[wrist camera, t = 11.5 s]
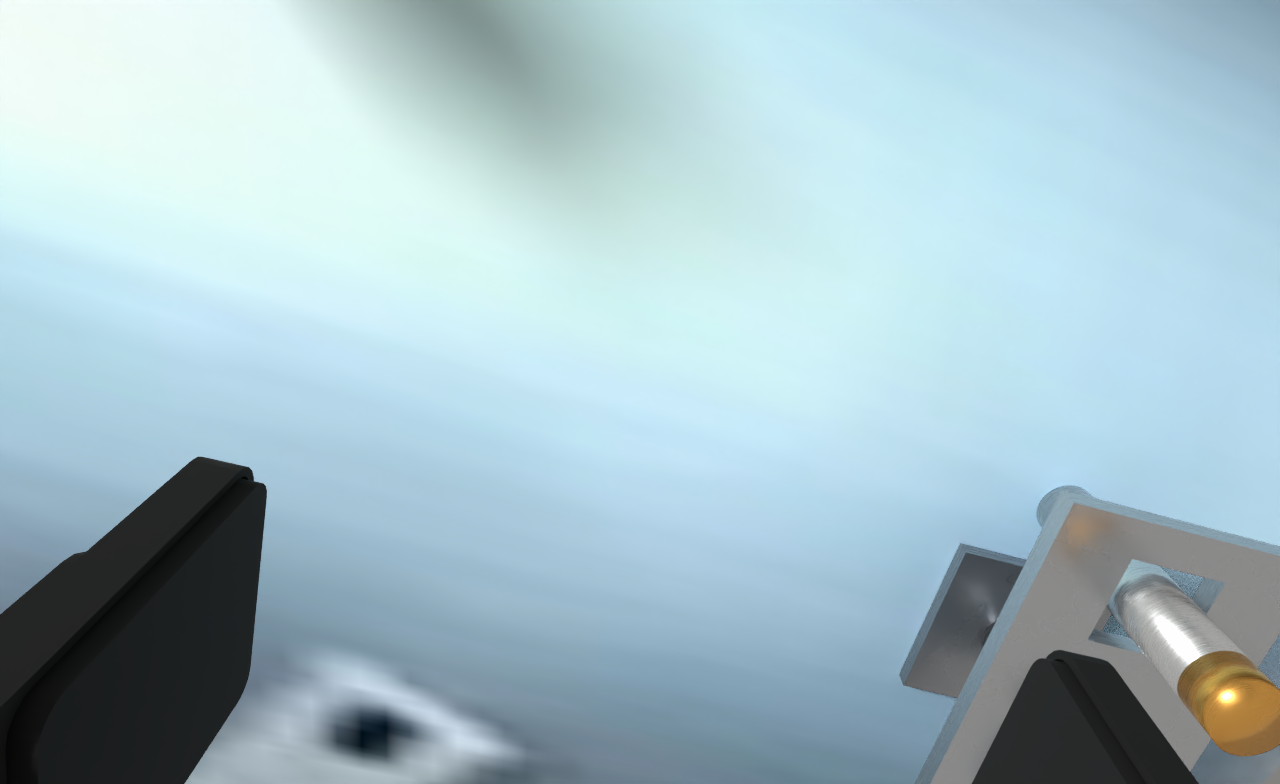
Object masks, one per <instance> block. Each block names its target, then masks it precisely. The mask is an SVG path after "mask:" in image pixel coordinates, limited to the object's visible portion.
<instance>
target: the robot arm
mask: <svg viewBox="0 0 1280 784" xmlns="http://www.w3.org/2000/svg"><path fill="white" fill-rule="evenodd" d="M266 498H267V490H266V486H265V485H264V484H263V483H259V482H254V477H253V473H252V470H251V469H250V468H249V467H245V466H241V465H236V464H232V463H227V462H223V461H218V460H214V459H210V458H205V457H197V458H195V459H193V460H192V461H191V462H189V463H188V464H187V465H186V466H185V467H184V468H182V469H181V470H180V471H179V472H178V473H177V474H176V475H174V476H173V477H172V478H171V479H170V480H169V481H167V482H166V483H165V484H164V485H163V486H162V487H160V488H159V489H158V490H157V491H156V492H155V493H154V494H152V495H151V496H150V497H149V498H148V499H147V500H145V501H144V502H143V503H142V504H141V505H140V506H139V507H137V508H136V509H135V510H134V511H133V512H132V513H130V514H129V515H128V516H127V517H126V518H125V519H124V520H122V521H121V522H120V523H119V524H118V525H117V526H115V527H114V528H113V529H112V530H111V531H110V532H108V533H107V534H106V535H105V536H104V537H103V538H102V539H100V540H99V541H98V542H97V543H96V544H95V545H93V546H92V547H91V548H90V549H89V550H88V551H87V552H82V553H76V554H74V555H72V556H71V557H69V558H68V559H66V560H64V561H63V562H62V563H61V564H59V565H58V566H57V567H56V568H55V569H53V570H52V571H51V572H50V573H49V574H48V575H46V576H45V577H44V578H43V579H42V580H40V581H39V582H38V583H37V584H36V585H35V586H33V587H32V588H31V589H30V590H29V591H28V592H26V593H25V594H24V595H23V596H22V597H20V598H19V599H18V600H17V601H16V602H15V603H13V604H12V605H11V606H10V607H9V608H7V609H6V610H5V611H4V612H3V613H2V614H0V784H184V783H185V782H186V780H187V779H188V777H189V776H190V774H191V773H192V771H193V770H194V768H195V767H196V765H197V764H198V762H199V761H200V759H201V758H202V756H203V754H204V753H205V751H206V750H207V748H208V747H209V745H210V744H211V742H212V741H213V739H214V738H215V736H216V735H217V733H218V732H219V730H220V729H221V727H222V726H223V724H224V722H225V721H226V719H227V718H228V716H229V715H230V713H231V712H232V710H233V709H234V707H235V706H236V704H237V703H238V701H239V699H240V697H241V695H242V693H243V691H244V689H245V686H246V683H247V680H248V676H249V672H250V666H251V655H252V645H253V634H254V624H255V613H256V603H257V592H258V582H259V571H260V561H261V550H262V540H263V529H264V519H265V508H266ZM972 784H1199V783H1198V782H1197V781H1196V779H1195V778H1194V776H1193V775H1192V774H1191V772H1190V771H1189V770H1188V768H1187V767H1186V765H1185V764H1184V763H1183V761H1182V760H1181V759H1180V757H1179V756H1178V754H1177V753H1176V752H1175V750H1174V749H1173V748H1172V746H1171V745H1170V743H1169V742H1168V741H1167V739H1166V738H1165V737H1164V735H1163V734H1162V732H1161V731H1160V730H1159V728H1158V727H1157V726H1156V724H1155V723H1154V722H1153V720H1152V719H1151V717H1150V716H1149V715H1148V713H1147V712H1146V711H1145V709H1144V708H1143V706H1142V705H1141V704H1140V702H1139V701H1138V700H1137V698H1136V697H1135V695H1134V694H1133V693H1132V691H1131V690H1130V689H1129V687H1128V686H1127V684H1126V683H1125V682H1124V680H1123V679H1122V678H1121V676H1120V675H1119V673H1118V672H1117V671H1116V669H1115V668H1114V667H1113V666H1112V665H1111V664H1110V663H1109V662H1108V661H1106V660H1103V659H1099V658H1095V657H1091V656H1086V655H1082V654H1077V653H1073V652H1068V651H1064V650H1056V651H1053V652H1052V653H1050V654H1049V655H1048V656H1047V657H1046V659H1045V658H1041V659H1038V660H1036V661H1035V662H1034V663H1033V664H1032V666H1031V667H1030V669H1029V671H1028V673H1027V675H1026V677H1025V679H1024V681H1023V683H1022V685H1021V687H1020V689H1019V691H1018V693H1017V695H1016V697H1015V699H1014V701H1013V703H1012V705H1011V707H1010V709H1009V711H1008V713H1007V715H1006V717H1005V719H1004V721H1003V723H1002V725H1001V727H1000V729H999V731H998V733H997V735H996V737H995V739H994V741H993V742H992V744H991V746H990V748H989V750H988V752H987V754H986V756H985V758H984V760H983V762H982V764H981V766H980V768H979V770H978V772H977V774H976V776H975V778H974V780H973V782H972Z"/></svg>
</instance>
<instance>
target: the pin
mask: <svg viewBox="0 0 1280 784" xmlns="http://www.w3.org/2000/svg"><path fill="white" fill-rule="evenodd" d="M1062 490H1064V491H1068V492H1072V493H1076V494H1080V495H1084V496H1087V497H1091V498H1093V497H1092V496H1091V495H1090V494H1089V493H1088V492H1087V491H1086V490H1084V489H1082V488H1080V487H1077V486H1062V487H1058V488H1056V489H1054V490H1052V491H1050V492H1049V493H1047V494H1046V495H1045V496H1044V497H1043V498H1042V500H1041V501H1040V503H1039V505H1038V508H1037V520H1038V522H1039V524H1040V526H1041V527H1042V528H1043V527H1044V525H1045V523H1046V521H1047V519H1048V517H1049V515H1050V513H1051V511H1052V509H1053V507H1054V505H1055V503H1056V501H1057V499H1058V497H1059V495H1060V493H1061V491H1062ZM1106 608H1107V609H1108V610H1109V611H1110V613H1111V614H1112V615H1113V616H1114V618H1115V619H1116V620H1117V621H1118V623H1119V624H1120V625H1121V626H1122V628H1123V629H1124V630H1125V631H1126V633H1127V634H1128V635H1129V636H1130V638H1131V639H1132V640H1133V641H1134V643H1135V644H1136V645H1137V646H1138V648H1139V649H1140V650H1141V651H1142V653H1143V654H1144V655H1145V656H1146V658H1147V659H1148V660H1149V661H1150V663H1151V664H1152V665H1153V666H1154V668H1155V669H1156V670H1157V671H1158V673H1159V674H1160V675H1161V676H1162V678H1163V679H1164V680H1165V681H1166V683H1167V684H1168V685H1169V686H1170V687H1171V689H1172V690H1173V691H1174V692H1175V694H1176V695H1177V696H1178V697H1179V699H1180V700H1181V701H1182V702H1183V704H1184V705H1185V706H1186V707H1187V709H1188V710H1189V711H1190V712H1191V714H1192V715H1193V716H1194V717H1195V719H1196V720H1197V721H1198V722H1199V724H1200V725H1201V726H1202V727H1203V729H1204V730H1205V731H1206V732H1207V734H1208V735H1209V736H1210V737H1211V739H1212V740H1213V741H1214V742H1215V744H1216V745H1217V746H1218V747H1219V748H1220V749H1222V750H1223V751H1225V752H1227V753H1229V754H1233V755H1237V756H1252V755H1257V754H1261V753H1264V752H1267V751H1269V750H1271V749H1273V748H1275V747H1277V746H1278V745H1280V690H1279V689H1278V688H1277V687H1276V686H1275V685H1274V684H1273V683H1272V682H1271V681H1270V680H1269V679H1268V677H1267V676H1266V675H1265V674H1264V673H1263V672H1262V671H1261V670H1260V669H1259V668H1258V667H1257V666H1256V665H1255V664H1254V663H1253V662H1252V661H1251V660H1250V659H1249V658H1248V657H1247V656H1246V655H1245V654H1244V653H1243V652H1242V651H1241V650H1240V649H1239V648H1238V647H1237V646H1236V645H1235V644H1234V642H1233V641H1232V640H1231V639H1230V638H1229V637H1228V636H1227V635H1226V634H1225V633H1224V632H1223V631H1222V630H1221V629H1220V628H1219V627H1218V626H1217V625H1216V624H1215V623H1214V622H1213V621H1212V620H1211V619H1210V618H1209V617H1208V616H1207V615H1206V614H1205V613H1204V612H1203V611H1202V610H1201V608H1200V607H1199V606H1198V605H1197V604H1196V603H1195V602H1194V601H1193V600H1192V599H1191V598H1190V597H1189V596H1188V595H1187V594H1186V593H1185V592H1184V591H1183V590H1182V589H1181V588H1180V587H1179V586H1178V585H1177V584H1176V583H1175V582H1174V581H1173V580H1172V579H1171V578H1170V577H1169V576H1168V575H1167V573H1166V572H1165V571H1164V570H1163V569H1162V568H1161V567H1160V566H1157V565H1153V564H1149V563H1145V562H1142V561H1138V560H1134V559H1132V560H1131V562H1130V564H1129V566H1128V568H1127V569H1126V571H1125V573H1124V575H1123V577H1122V578H1121V580H1120V582H1119V584H1118V586H1117V587H1116V589H1115V591H1114V593H1113V595H1112V597H1111V598H1110V600H1109V602H1108V604H1107V606H1106Z"/></svg>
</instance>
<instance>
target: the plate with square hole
mask: <svg viewBox="0 0 1280 784" xmlns="http://www.w3.org/2000/svg"><path fill="white" fill-rule="evenodd" d="M1132 559H1134V560H1138V561H1142V562H1145V563H1149V564H1153V565H1157V566H1161V567H1165V568H1169V569H1173V570H1177V571H1181V572H1185V573H1189V574H1193V575H1196V576H1200V577H1204V579H1203V581H1202V582H1201V584H1200V586H1199V587H1198V589H1197V591H1196V593H1195V594H1194V596H1193V598H1192V600H1193V601H1194V602H1195V603H1196V604H1197V605H1198V606H1199V607H1200V608H1201V610H1202V611H1203V612H1204V613H1205V614H1206V615H1207V616H1208V617H1209V618H1210V619H1211V620H1212V621H1213V622H1214V623H1215V624H1216V625H1217V626H1218V627H1219V628H1220V629H1221V630H1222V631H1223V632H1224V633H1225V634H1226V635H1227V636H1228V637H1229V638H1230V639H1231V640H1232V641H1233V642H1234V644H1235V645H1236V646H1237V647H1238V648H1239V649H1240V650H1241V651H1242V652H1243V653H1244V654H1245V655H1246V656H1247V657H1248V658H1249V659H1250V660H1251V661H1252V662H1253V663H1254V664H1255V665H1256V666H1257V667H1258V666H1259V665H1260V663H1261V662H1262V660H1263V659H1264V657H1265V656H1266V654H1267V653H1268V651H1269V649H1270V648H1271V646H1272V645H1273V643H1274V642H1275V640H1276V639H1277V637H1278V636H1279V634H1280V546H1276V545H1272V544H1268V543H1265V542H1261V541H1257V540H1253V539H1249V538H1245V537H1242V536H1238V535H1234V534H1230V533H1226V532H1222V531H1218V530H1215V529H1211V528H1207V527H1203V526H1199V525H1195V524H1191V523H1188V522H1184V521H1180V520H1176V519H1172V518H1168V517H1164V516H1161V515H1157V514H1153V513H1149V512H1145V511H1141V510H1137V509H1134V508H1130V507H1126V506H1122V505H1118V504H1114V503H1111V502H1107V501H1103V500H1099V499H1095V498H1091V497H1087V496H1084V495H1080V494H1076V493H1072V492H1068V491H1064V490H1062V491H1061V493H1060V495H1059V497H1058V499H1057V501H1056V503H1055V505H1054V507H1053V509H1052V511H1051V513H1050V515H1049V517H1048V519H1047V521H1046V523H1045V525H1044V527H1043V529H1042V531H1041V533H1040V535H1039V537H1038V539H1037V541H1036V543H1035V545H1034V547H1033V549H1032V551H1031V553H1030V555H1029V557H1028V559H1027V560H1024V559H1020V558H1016V557H1012V556H1008V555H1004V554H1000V553H996V552H992V551H988V550H984V549H980V548H976V547H972V546H968V545H964V544H960V545H959V548H958V550H957V552H956V554H955V556H954V558H953V560H952V563H951V565H950V567H949V569H948V571H947V573H946V576H945V578H944V580H943V582H942V584H941V586H940V588H939V591H938V593H937V595H936V597H935V599H934V601H933V603H932V606H931V608H930V610H929V612H928V614H927V616H926V619H925V621H924V623H923V625H922V627H921V629H920V631H919V634H918V636H917V638H916V640H915V642H914V644H913V647H912V649H911V651H910V653H909V655H908V657H907V659H906V662H905V664H904V666H903V668H902V670H901V672H900V674H899V675H900V677H901V680H902V683H903V685H905V686H909V687H913V688H917V689H922V690H926V691H930V692H934V693H938V694H943V695H947V696H951V697H955V698H957V700H956V702H955V704H954V706H953V708H952V710H951V712H950V714H949V716H948V718H947V720H946V722H945V724H944V726H943V728H942V730H941V732H940V734H939V736H938V738H937V740H936V742H935V744H934V746H933V748H932V750H931V752H930V754H929V756H928V758H927V760H926V762H925V764H924V766H923V768H922V770H921V772H920V774H919V776H918V778H917V780H916V782H915V784H972V782H973V780H974V778H975V776H976V774H977V772H978V770H979V768H980V766H981V764H982V762H983V760H984V758H985V756H986V754H987V752H988V750H989V748H990V746H991V744H992V742H993V741H994V739H995V737H996V735H997V733H998V731H999V729H1000V727H1001V725H1002V723H1003V721H1004V719H1005V717H1006V715H1007V713H1008V711H1009V709H1010V707H1011V705H1012V703H1013V701H1014V699H1015V697H1016V695H1017V693H1018V691H1019V689H1020V687H1021V685H1022V683H1023V681H1024V679H1025V677H1026V675H1027V673H1028V671H1029V669H1030V667H1031V666H1032V664H1033V663H1034V662H1035V661H1036V660H1038V659H1041V658H1045V659H1046V657H1047V656H1048V655H1049V654H1050V653H1052V652H1053V651H1056V650H1064V651H1068V652H1073V653H1077V654H1082V655H1086V656H1091V657H1095V658H1099V659H1103V660H1106V661H1108V662H1109V663H1110V664H1111V665H1112V666H1113V667H1114V668H1115V669H1116V671H1117V672H1118V673H1119V675H1120V676H1121V678H1122V679H1123V680H1124V682H1125V683H1126V684H1127V686H1128V687H1129V689H1130V690H1131V691H1132V693H1133V694H1134V695H1135V697H1136V698H1137V700H1138V701H1139V702H1140V704H1141V705H1142V706H1143V708H1144V709H1145V711H1146V712H1147V713H1148V715H1149V716H1150V717H1151V719H1152V720H1153V722H1154V723H1155V724H1156V726H1157V727H1158V728H1159V730H1160V731H1161V732H1162V734H1163V735H1164V737H1165V738H1166V739H1167V741H1168V742H1169V743H1170V745H1171V746H1172V748H1173V749H1174V750H1175V752H1176V753H1177V754H1178V756H1179V757H1180V759H1181V760H1182V761H1183V763H1184V764H1185V765H1186V767H1187V768H1188V770H1189V771H1191V770H1192V768H1193V767H1194V765H1195V764H1196V762H1197V760H1198V759H1199V757H1200V756H1201V754H1202V753H1203V751H1204V750H1205V748H1206V747H1207V745H1208V743H1209V742H1210V740H1211V737H1210V736H1209V735H1208V734H1207V732H1206V731H1205V730H1204V729H1203V727H1202V726H1201V725H1200V724H1199V722H1198V721H1197V720H1196V719H1195V717H1194V716H1193V715H1192V714H1191V712H1190V711H1189V710H1188V709H1187V707H1186V706H1185V705H1184V704H1183V702H1182V701H1181V700H1180V699H1179V697H1178V696H1177V695H1176V694H1175V692H1174V691H1173V690H1172V689H1171V687H1170V686H1169V685H1168V684H1167V683H1166V681H1165V680H1164V679H1163V678H1162V676H1161V675H1160V674H1159V673H1158V671H1157V670H1156V669H1155V668H1154V666H1153V665H1152V664H1151V663H1150V661H1149V660H1148V659H1147V658H1146V656H1145V655H1144V654H1143V653H1142V651H1141V650H1140V649H1139V648H1138V646H1137V645H1136V644H1135V643H1134V641H1133V640H1132V639H1131V638H1129V637H1125V636H1121V635H1117V634H1113V633H1109V632H1104V631H1102V630H1103V628H1104V627H1105V625H1106V623H1107V621H1108V619H1109V618H1110V616H1111V613H1110V611H1109V610H1108V609H1107V608H1106V606H1107V604H1108V602H1109V600H1110V598H1111V597H1112V595H1113V593H1114V591H1115V589H1116V587H1117V586H1118V584H1119V582H1120V580H1121V578H1122V577H1123V575H1124V573H1125V571H1126V569H1127V568H1128V566H1129V564H1130V562H1131V560H1132Z"/></svg>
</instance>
